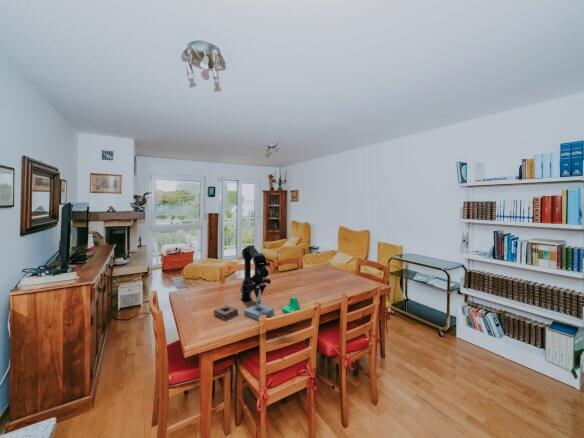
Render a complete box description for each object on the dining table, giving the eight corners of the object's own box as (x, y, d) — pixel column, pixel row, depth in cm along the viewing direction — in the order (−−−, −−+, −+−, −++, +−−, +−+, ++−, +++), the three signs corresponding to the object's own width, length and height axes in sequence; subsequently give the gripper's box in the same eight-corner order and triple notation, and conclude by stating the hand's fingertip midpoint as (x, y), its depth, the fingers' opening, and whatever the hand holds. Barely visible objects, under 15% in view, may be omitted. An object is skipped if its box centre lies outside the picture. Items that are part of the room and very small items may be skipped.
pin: (258, 302, 171) (258, 287, 170) (261, 303, 169) (262, 289, 168) (255, 303, 168) (255, 289, 167) (258, 304, 166) (258, 290, 166)
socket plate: (258, 307, 179) (258, 303, 179) (273, 312, 171) (273, 308, 170) (243, 314, 167) (244, 310, 167) (259, 320, 159) (259, 315, 159)
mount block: (226, 309, 175) (226, 304, 175) (237, 313, 169) (237, 309, 168) (213, 314, 166) (213, 310, 166) (224, 319, 160) (224, 314, 160)
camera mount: (281, 311, 174) (281, 296, 173) (289, 308, 179) (289, 294, 178) (292, 317, 165) (293, 302, 164) (301, 314, 170) (301, 299, 169)
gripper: (259, 268, 179) (259, 289, 180) (240, 274, 164) (239, 297, 165) (271, 271, 173) (271, 293, 174) (252, 277, 158) (252, 301, 159)
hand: (258, 296), depth 168 cm, fingers closed on pin, 3 cm apart
